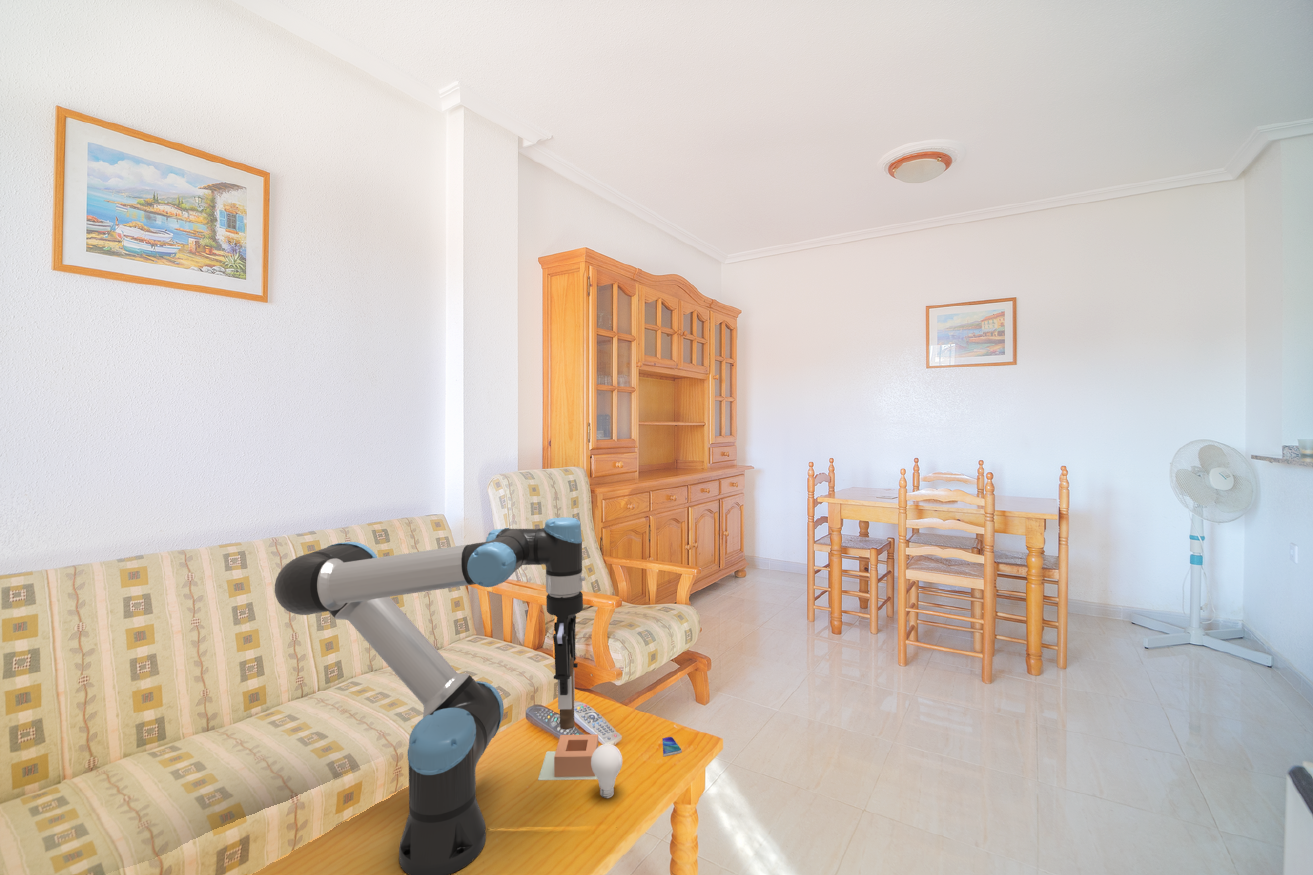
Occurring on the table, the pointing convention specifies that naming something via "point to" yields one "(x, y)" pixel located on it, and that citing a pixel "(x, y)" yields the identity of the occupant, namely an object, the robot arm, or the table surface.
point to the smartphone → (670, 747)
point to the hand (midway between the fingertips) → (566, 703)
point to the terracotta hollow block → (575, 755)
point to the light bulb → (606, 767)
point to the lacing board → (548, 770)
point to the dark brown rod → (568, 714)
